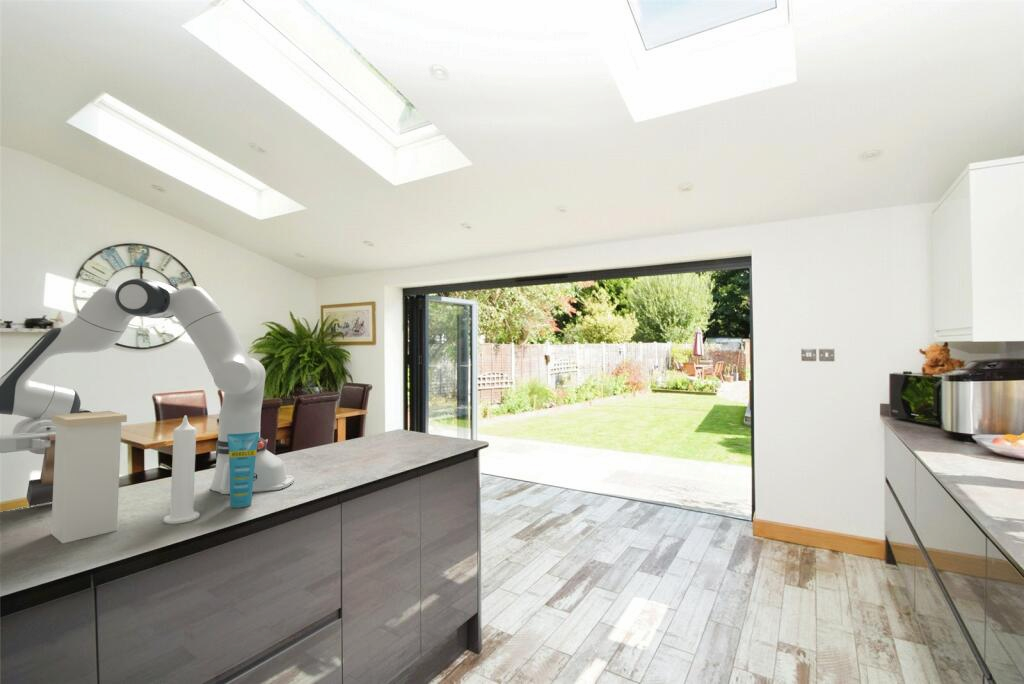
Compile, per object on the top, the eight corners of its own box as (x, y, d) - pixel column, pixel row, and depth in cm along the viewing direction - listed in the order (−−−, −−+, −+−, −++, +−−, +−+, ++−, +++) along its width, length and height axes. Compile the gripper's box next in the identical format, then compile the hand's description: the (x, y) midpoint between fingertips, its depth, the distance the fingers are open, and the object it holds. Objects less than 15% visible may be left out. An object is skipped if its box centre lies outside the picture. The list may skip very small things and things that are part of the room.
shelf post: (46, 532, 103) (51, 414, 103) (104, 520, 111) (109, 410, 112) (61, 545, 96) (66, 419, 97) (122, 531, 104) (126, 415, 105)
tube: (224, 510, 119) (227, 435, 120) (224, 505, 123) (226, 432, 124) (257, 505, 123) (260, 432, 124) (256, 500, 127) (258, 430, 128)
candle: (195, 512, 117) (199, 412, 118) (202, 519, 112) (205, 415, 113) (161, 518, 112) (165, 415, 113) (166, 526, 107) (170, 418, 108)
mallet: (74, 432, 122) (78, 439, 119) (63, 491, 125) (67, 499, 123) (36, 435, 116) (39, 443, 114) (26, 497, 119) (29, 506, 117)
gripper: (-13, 429, 116) (-2, 435, 108) (94, 421, 133) (110, 426, 125) (-14, 454, 116) (-3, 463, 108) (93, 443, 133) (109, 449, 125)
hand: (58, 443), depth 117 cm, fingers closed on mallet, 3 cm apart
